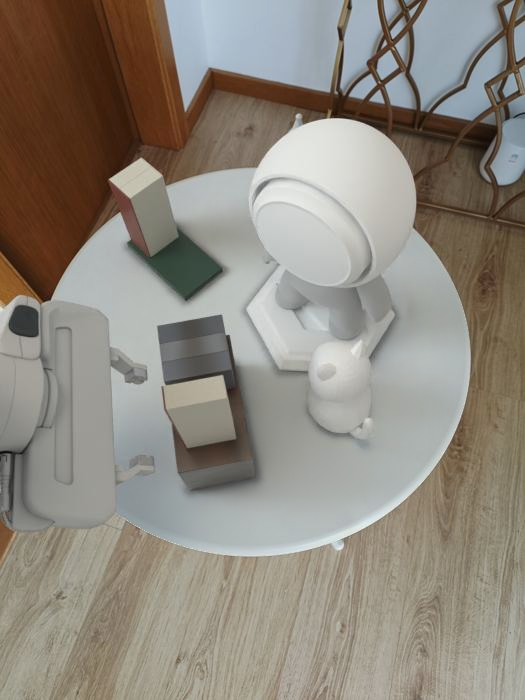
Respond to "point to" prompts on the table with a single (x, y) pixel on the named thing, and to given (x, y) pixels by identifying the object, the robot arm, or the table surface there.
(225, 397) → the white book
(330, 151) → the white toy figurine
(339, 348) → the cat figurine
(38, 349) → the robot arm
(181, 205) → the table surface
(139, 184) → the green book holder
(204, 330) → the grey stand
